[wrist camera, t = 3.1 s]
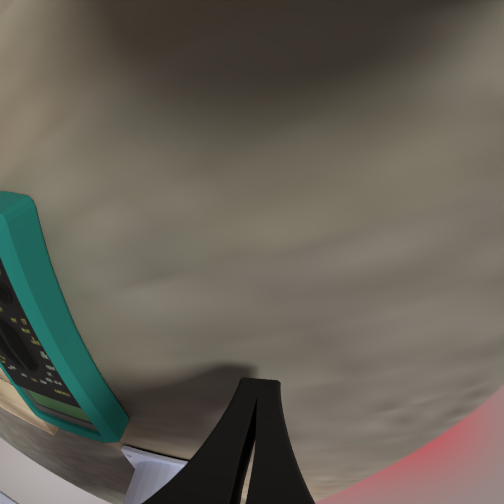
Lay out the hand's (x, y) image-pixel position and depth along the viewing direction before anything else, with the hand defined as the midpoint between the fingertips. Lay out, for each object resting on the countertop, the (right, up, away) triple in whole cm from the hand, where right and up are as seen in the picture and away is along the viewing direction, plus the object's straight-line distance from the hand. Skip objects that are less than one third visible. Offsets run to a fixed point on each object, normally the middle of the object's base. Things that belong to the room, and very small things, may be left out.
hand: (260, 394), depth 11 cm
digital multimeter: (-12, +2, +3) cm, 12 cm away
